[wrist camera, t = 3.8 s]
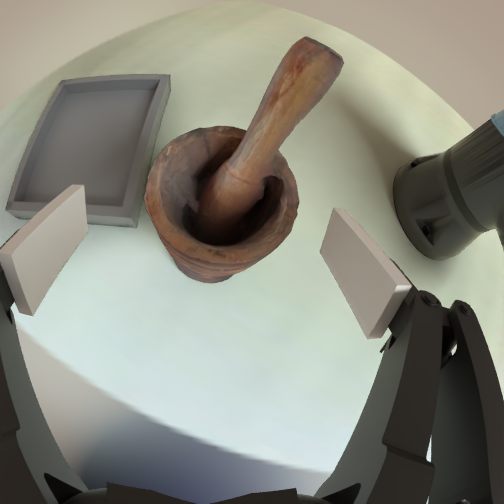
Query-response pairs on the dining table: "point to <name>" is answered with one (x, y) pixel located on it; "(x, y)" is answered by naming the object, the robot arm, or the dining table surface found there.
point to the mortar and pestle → (237, 175)
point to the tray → (93, 147)
